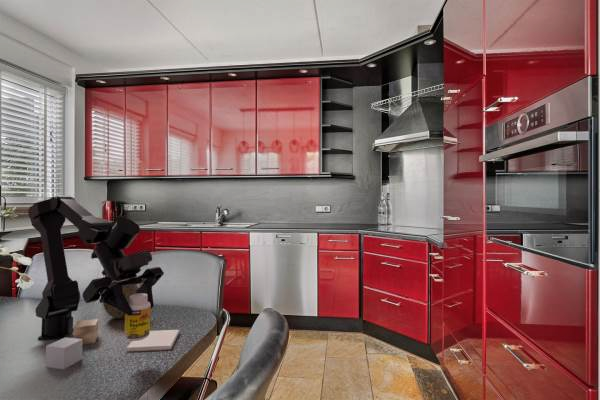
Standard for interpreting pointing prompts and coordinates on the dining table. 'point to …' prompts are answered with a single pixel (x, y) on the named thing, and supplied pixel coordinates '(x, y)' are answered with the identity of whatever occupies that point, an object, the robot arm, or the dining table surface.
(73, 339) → the pale grey block
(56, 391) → the dining table surface
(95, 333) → the birch block
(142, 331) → the supplement bottle
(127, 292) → the decorative egg
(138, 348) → the cream square tile
